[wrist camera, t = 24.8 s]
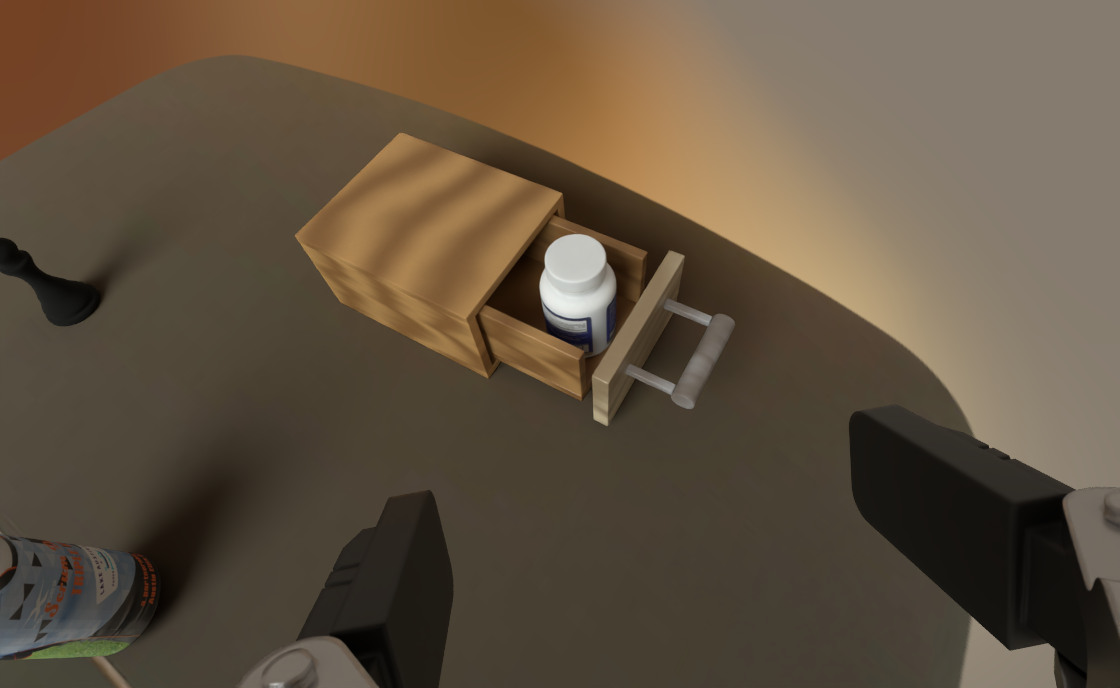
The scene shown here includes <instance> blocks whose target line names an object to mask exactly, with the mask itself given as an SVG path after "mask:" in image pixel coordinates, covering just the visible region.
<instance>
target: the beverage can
mask: <svg viewBox="0 0 1120 688" xmlns="http://www.w3.org/2000/svg"><path fill="white" fill-rule="evenodd" d="M160 588H161V584H160V576H159V572H158V569H157V567H156V565H155V564H154V563H153V561H152V560H151V559H149V558H148V557H146V556H144V555H141V554H137V553H130V552H122V551H115V550H108V549H101V548H94V547H87V546H80V545H73V544H65V543H58V542H51V541H44V540H37V539H30V538H23V537H16V536H8V535H1V534H0V660H17V659H41V658H66V657H90V656H107V655H111V654H114V653H117V652H119V651H121V650H123V649H124V648H126V647H127V646H128V645H130V644H131V643H132V642H133V641H135V640H136V639H137V638H138V637H139V636H140V634H141V633H142V632H143V631H144V630H145V628H146V627H147V625H148V624H149V622H150V620H151V618H152V616H153V614H154V612H155V610H156V607H157V604H158V601H159V596H160Z"/></svg>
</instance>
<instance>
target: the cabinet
mask: <svg viewBox="0 0 1120 688" xmlns="http://www.w3.org/2000/svg"><path fill="white" fill-rule="evenodd" d="M552 215H555V216H557V217H560V218H562V219H565V212H564V201H563V193H561V192H558V191H555V190H553V189H550V188H547V187H545V186H542V185H539V184H537V183H534V182H531V181H529V180H526V179H523V178H521V177H518V176H515V175H513V174H510V173H508V172H505V171H502V170H500V169H497V168H494V167H492V166H489V165H486V164H484V163H481V162H478V161H476V160H473V159H470V158H468V157H465V156H462V155H460V154H457V153H454V152H452V151H449V150H446V149H444V148H441V147H439V146H436V145H433V144H431V143H428V142H425V141H423V140H420V139H417V138H415V137H412V136H409V135H407V134H404V133H401V132H400V133H399V134H398V135H397V136H396V137H395V138H394V139H393V140H392V141H391V142H390V143H389V144H388V145H387V146H386V147H385V148H384V149H383V150H382V151H381V152H380V153H379V154H378V155H377V156H376V157H375V158H374V159H373V160H372V161H370V162H369V163H368V164H367V165H366V166H365V167H364V168H363V169H362V170H361V171H360V172H359V173H358V174H357V175H356V176H355V177H354V178H353V179H352V180H351V181H350V182H349V183H348V184H347V185H346V186H345V187H344V188H343V189H342V190H341V191H340V192H339V193H338V194H337V195H336V196H335V197H334V198H333V199H332V200H331V201H330V202H329V203H328V204H327V205H326V206H325V207H324V208H322V209H321V210H320V211H319V212H318V213H317V214H316V215H315V216H314V217H313V218H312V219H311V220H310V221H309V222H308V223H307V224H306V225H305V226H304V227H303V228H302V229H301V230H300V231H299V232H298V233H297V234H296V235H295V237H296V238H297V240H298V241H299V243H300V244H301V246H302V247H303V248H304V250H305V251H306V253H307V254H308V256H309V257H310V259H311V260H312V262H313V263H314V265H315V266H316V267H317V269H318V270H319V272H320V273H321V275H322V276H323V278H324V279H325V281H326V282H327V283H328V285H329V286H330V288H331V289H332V291H333V292H334V294H335V295H336V297H337V298H338V299H339V301H340V302H341V303H343V304H345V305H347V306H349V307H351V308H352V309H354V310H356V311H358V312H360V313H362V314H364V315H366V316H368V317H370V318H372V319H374V320H376V321H378V322H380V323H382V324H383V325H385V326H387V327H389V328H391V329H393V330H395V331H397V332H399V333H401V334H403V335H405V336H407V337H409V338H411V339H413V340H415V341H416V342H418V343H420V344H422V345H424V346H426V347H428V348H430V349H432V350H434V351H436V352H438V353H440V354H442V355H444V356H446V357H447V358H449V359H451V360H453V361H455V362H457V363H459V364H461V365H463V366H465V367H467V368H469V369H471V370H473V371H475V372H477V373H479V374H480V375H482V376H484V377H486V378H488V379H489V378H490V376H491V375H492V373H493V372H494V371H495V369H496V368H497V366H498V365H499V364H500V362H501V361H500V360H498V359H496V358H494V357H492V356H490V355H488V352H487V349H486V346H485V343H484V341H483V338H482V335H481V332H480V329H479V326H478V323H477V320H476V318H475V316H476V314H477V313H478V312H479V310H480V309H481V308H482V307H483V305H484V304H485V303H486V301H487V300H488V299H489V297H490V296H491V295H492V293H493V292H494V291H495V290H496V288H497V287H498V286H499V284H500V283H501V282H502V280H503V279H504V278H505V277H506V275H507V274H508V273H509V271H510V270H511V269H512V267H513V266H514V265H515V263H516V262H517V261H518V260H519V258H520V257H521V256H522V254H523V253H524V252H525V250H526V249H527V248H528V247H529V245H530V244H531V243H532V241H533V240H534V239H535V237H536V236H537V235H538V233H539V232H540V231H541V230H542V228H543V227H544V226H545V224H546V223H547V222H548V220H549V219H550V218H551V217H552Z"/></svg>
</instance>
